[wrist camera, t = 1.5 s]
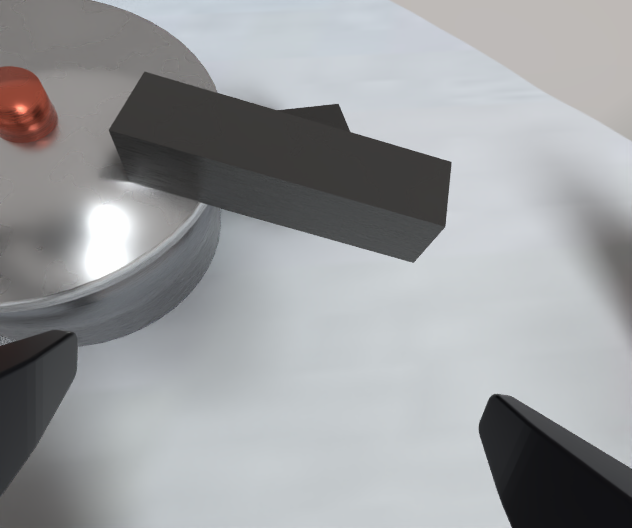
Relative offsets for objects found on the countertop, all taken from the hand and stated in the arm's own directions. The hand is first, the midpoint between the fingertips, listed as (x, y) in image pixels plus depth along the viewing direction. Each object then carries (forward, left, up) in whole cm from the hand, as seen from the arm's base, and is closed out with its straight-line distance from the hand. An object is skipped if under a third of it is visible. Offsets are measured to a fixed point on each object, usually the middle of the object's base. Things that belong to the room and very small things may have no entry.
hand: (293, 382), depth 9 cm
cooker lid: (+11, +5, -7) cm, 14 cm away
